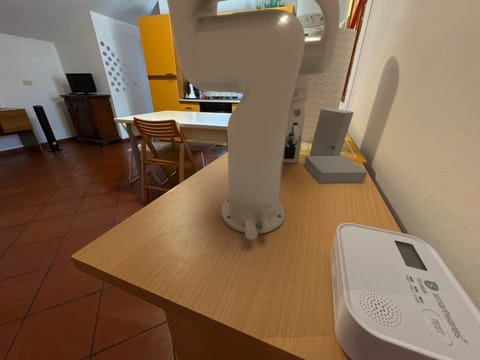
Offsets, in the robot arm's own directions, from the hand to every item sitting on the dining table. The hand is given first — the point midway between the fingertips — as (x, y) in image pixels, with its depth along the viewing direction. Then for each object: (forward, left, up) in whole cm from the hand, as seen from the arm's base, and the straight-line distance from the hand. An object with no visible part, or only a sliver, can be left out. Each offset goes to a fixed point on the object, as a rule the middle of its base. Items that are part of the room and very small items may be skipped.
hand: (285, 154), depth 64 cm
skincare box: (+4, -15, -2) cm, 16 cm away
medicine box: (0, 0, -2) cm, 2 cm away
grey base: (-10, -11, -2) cm, 15 cm away
